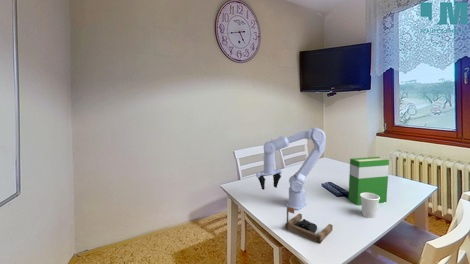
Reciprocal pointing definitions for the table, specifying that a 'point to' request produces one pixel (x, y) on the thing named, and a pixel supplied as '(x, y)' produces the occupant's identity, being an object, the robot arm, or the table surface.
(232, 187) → the table surface
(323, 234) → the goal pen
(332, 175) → the table surface
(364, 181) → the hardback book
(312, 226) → the gaming controller
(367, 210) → the dixie cup
